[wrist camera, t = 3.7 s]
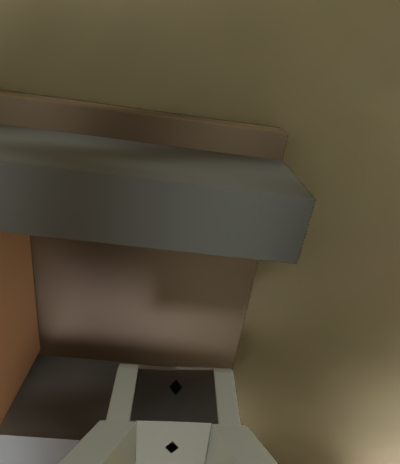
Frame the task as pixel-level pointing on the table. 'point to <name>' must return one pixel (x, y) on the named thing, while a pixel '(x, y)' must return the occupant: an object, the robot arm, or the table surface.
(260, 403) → the table surface
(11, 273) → the peach block
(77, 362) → the chute
